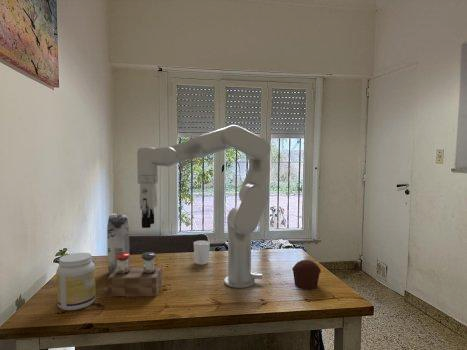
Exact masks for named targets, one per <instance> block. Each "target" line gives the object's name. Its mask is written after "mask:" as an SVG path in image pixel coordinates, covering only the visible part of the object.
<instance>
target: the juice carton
mask: <svg viewBox="0 0 467 350" xmlns="http://www.w3.org/2000/svg"><path fill="white" fill-rule="evenodd" d="M129 222H130V221H129V218H128V215H127V214H117V213H115V212H114V213H111V214H109V215H108V220H107V229H106V231H107V270H108V274H109V275H108V276H110V275H111V274H112V273H113V272H114V270H115V269H116V268H117V259H116V254H118V253H122V252H127V253H130V224H129ZM128 267H130V257H129V258H128Z"/></svg>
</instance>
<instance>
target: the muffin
mask: <svg viewBox="0 0 467 350" xmlns="http://www.w3.org/2000/svg"><path fill="white" fill-rule="evenodd" d="M291 270H292V273H293V274H292V275H293V280H294V285H295V287H296V288H297V289H302V290H303V291H305V290H308V291H311V290H315V289H317V287H318V284H319V278H320V274H321V272H322V270H321V268H320V267H319V265H318V264H317V263H316V262H314V261H313V260H309V259H302V260H300V261H298V262H296V263H295V264H294V266H293V267H292V269H291Z"/></svg>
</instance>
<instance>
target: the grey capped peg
mask: <svg viewBox="0 0 467 350" xmlns="http://www.w3.org/2000/svg"><path fill="white" fill-rule="evenodd" d="M155 258H156V253H155V251H154V252H153V251H147V252H143V253H141V259H142V260H143V261H142V263H143V266H142V267H143V271H144V274H154V267H155Z"/></svg>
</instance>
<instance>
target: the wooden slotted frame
mask: <svg viewBox="0 0 467 350" xmlns="http://www.w3.org/2000/svg"><path fill="white" fill-rule="evenodd" d="M106 282H107V284H106V285H107V287H106V288H107V290H106V291H107V298H113V297H112V296H123V297H124V296H126V297H127V298H128V297H129V296H131V297H157V296H158V293H159V291H160V289H161V286H162V284H163V267H162V266H154V274H144V271H143V266H131V267H130V266H129V267H128V274H127V275H117V268H116V269H115V270H114V272H113V273H112V274H111V275H108V277H107V278H106ZM123 297H122V298H123ZM126 297H124V298H126Z"/></svg>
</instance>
